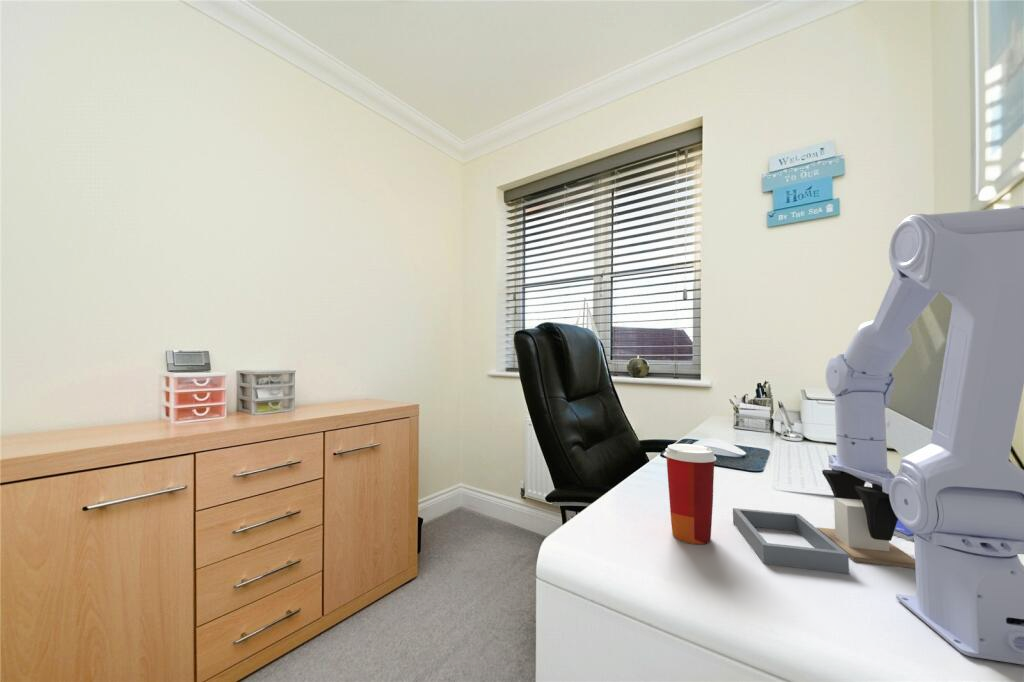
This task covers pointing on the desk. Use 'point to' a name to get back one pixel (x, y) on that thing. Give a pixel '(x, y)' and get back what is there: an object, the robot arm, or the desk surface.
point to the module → (854, 525)
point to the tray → (815, 558)
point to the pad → (872, 553)
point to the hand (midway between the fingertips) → (864, 527)
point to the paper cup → (690, 491)
